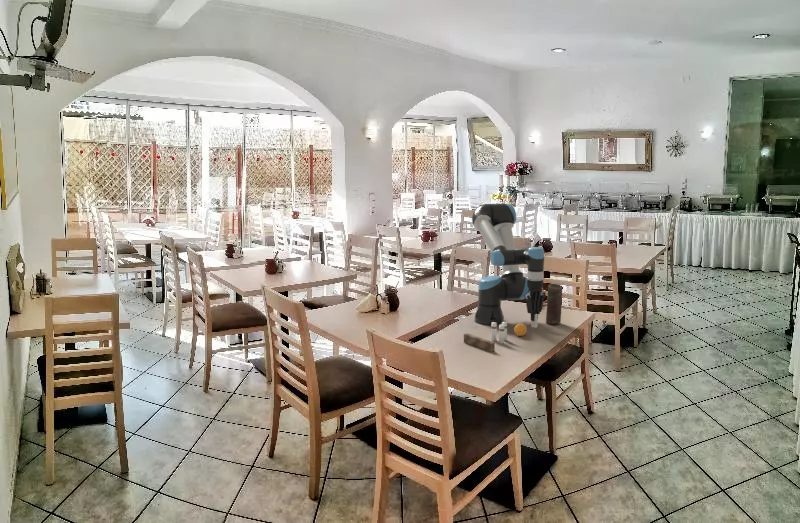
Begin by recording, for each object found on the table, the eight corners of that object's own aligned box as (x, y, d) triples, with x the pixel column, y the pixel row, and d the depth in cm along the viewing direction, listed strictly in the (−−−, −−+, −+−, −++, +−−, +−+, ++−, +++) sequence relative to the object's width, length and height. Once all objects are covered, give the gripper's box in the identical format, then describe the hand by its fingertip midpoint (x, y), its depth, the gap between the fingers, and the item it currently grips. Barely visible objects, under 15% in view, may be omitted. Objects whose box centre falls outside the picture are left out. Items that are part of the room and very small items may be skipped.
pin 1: (490, 340, 278) (490, 323, 276) (492, 339, 280) (492, 321, 278) (495, 341, 276) (495, 323, 275) (497, 340, 278) (497, 322, 277)
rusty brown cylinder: (559, 321, 308) (561, 284, 305) (562, 325, 301) (563, 287, 298) (544, 321, 309) (546, 283, 306) (546, 325, 302) (548, 286, 298)
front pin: (500, 340, 278) (500, 322, 277) (502, 338, 280) (503, 321, 279) (505, 341, 277) (505, 323, 275) (507, 339, 279) (508, 322, 277)
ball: (511, 336, 284) (512, 324, 283) (516, 333, 289) (517, 321, 288) (523, 338, 281) (524, 326, 280) (528, 335, 286) (528, 323, 284)
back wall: (463, 342, 276) (463, 334, 275) (466, 341, 277) (467, 333, 276) (491, 352, 261) (491, 343, 260) (494, 351, 262) (494, 342, 262)
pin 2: (497, 343, 274) (498, 325, 272) (500, 341, 276) (500, 324, 274) (502, 344, 272) (503, 326, 271) (505, 342, 274) (505, 325, 273)
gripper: (538, 276, 292) (537, 323, 296) (520, 279, 285) (519, 327, 289) (550, 278, 286) (549, 326, 290) (532, 282, 279) (530, 330, 283)
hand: (534, 326), depth 289 cm, fingers closed
